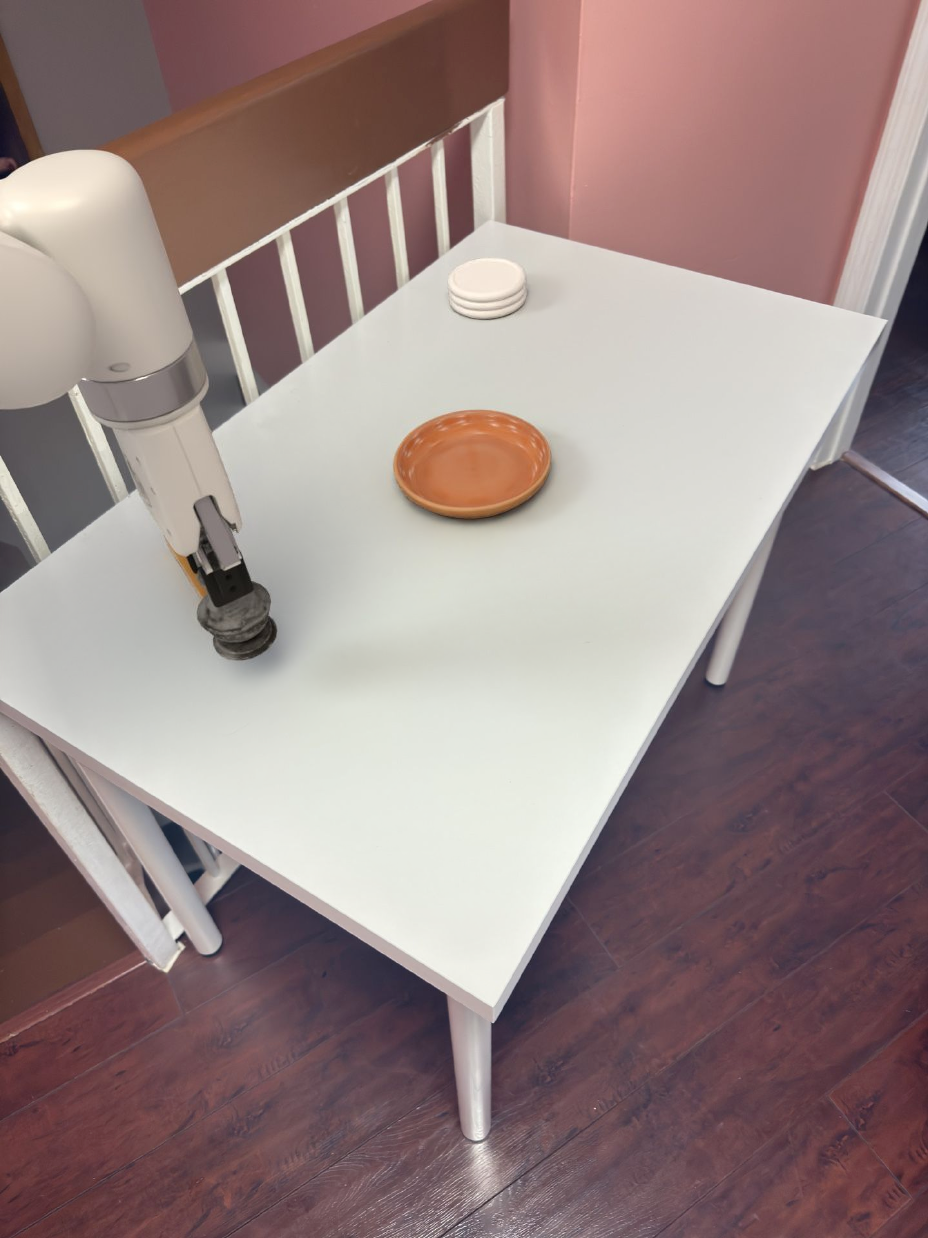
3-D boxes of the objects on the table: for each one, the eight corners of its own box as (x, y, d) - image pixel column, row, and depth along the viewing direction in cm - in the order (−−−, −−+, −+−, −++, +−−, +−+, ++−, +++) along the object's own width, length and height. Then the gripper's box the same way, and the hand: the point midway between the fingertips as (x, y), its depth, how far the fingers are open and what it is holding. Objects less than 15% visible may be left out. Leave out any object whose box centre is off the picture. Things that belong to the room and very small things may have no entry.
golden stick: (221, 631, 82) (215, 618, 81) (168, 546, 91) (162, 533, 89) (239, 623, 83) (234, 609, 82) (185, 538, 91) (179, 525, 90)
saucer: (575, 505, 90) (575, 482, 88) (420, 548, 88) (417, 525, 85) (519, 417, 101) (518, 394, 98) (380, 453, 98) (376, 430, 96)
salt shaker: (243, 674, 72) (199, 566, 63) (194, 643, 74) (145, 535, 66) (295, 628, 75) (260, 518, 66) (246, 599, 77) (205, 490, 68)
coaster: (441, 318, 116) (438, 293, 113) (459, 279, 122) (456, 254, 119) (519, 322, 114) (518, 296, 111) (532, 282, 120) (532, 256, 117)
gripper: (46, 339, 60) (141, 542, 74) (125, 464, 50) (218, 672, 64) (154, 300, 62) (227, 504, 76) (250, 413, 52) (314, 624, 66)
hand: (222, 579), depth 70 cm, fingers closed on salt shaker, 3 cm apart
